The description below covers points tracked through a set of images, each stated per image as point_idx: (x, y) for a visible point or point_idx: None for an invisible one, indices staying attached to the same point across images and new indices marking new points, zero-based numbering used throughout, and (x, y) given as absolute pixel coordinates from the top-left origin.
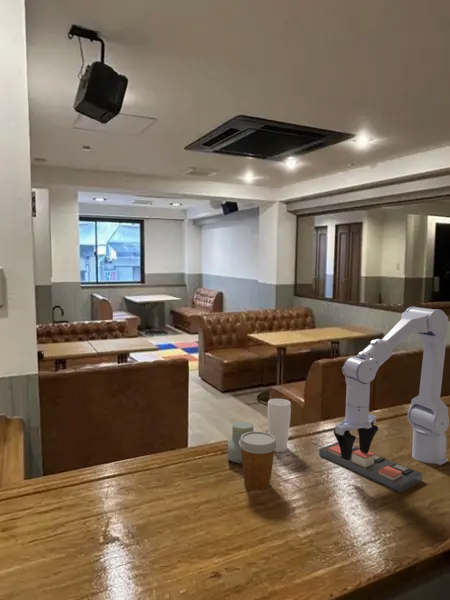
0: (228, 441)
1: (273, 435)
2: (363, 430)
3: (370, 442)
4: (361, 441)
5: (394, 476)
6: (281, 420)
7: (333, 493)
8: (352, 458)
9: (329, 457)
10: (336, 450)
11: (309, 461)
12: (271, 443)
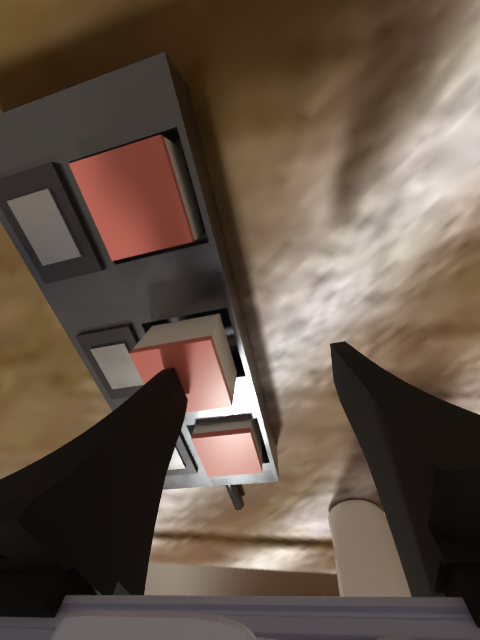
0: None
1: None
2: (123, 526)
3: (126, 407)
4: (167, 442)
5: (147, 139)
6: None
7: (440, 250)
8: (235, 382)
9: (270, 435)
10: (245, 451)
11: (316, 447)
12: None
